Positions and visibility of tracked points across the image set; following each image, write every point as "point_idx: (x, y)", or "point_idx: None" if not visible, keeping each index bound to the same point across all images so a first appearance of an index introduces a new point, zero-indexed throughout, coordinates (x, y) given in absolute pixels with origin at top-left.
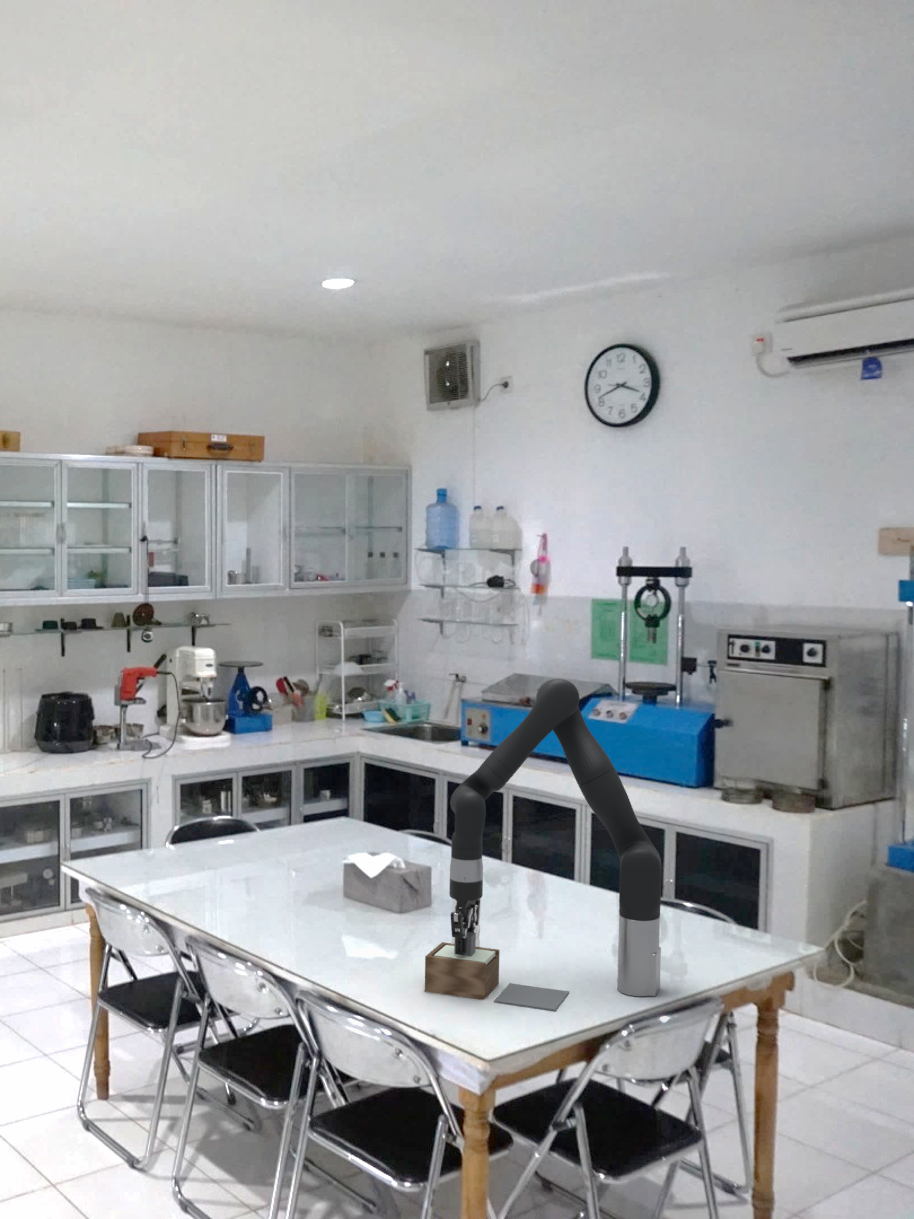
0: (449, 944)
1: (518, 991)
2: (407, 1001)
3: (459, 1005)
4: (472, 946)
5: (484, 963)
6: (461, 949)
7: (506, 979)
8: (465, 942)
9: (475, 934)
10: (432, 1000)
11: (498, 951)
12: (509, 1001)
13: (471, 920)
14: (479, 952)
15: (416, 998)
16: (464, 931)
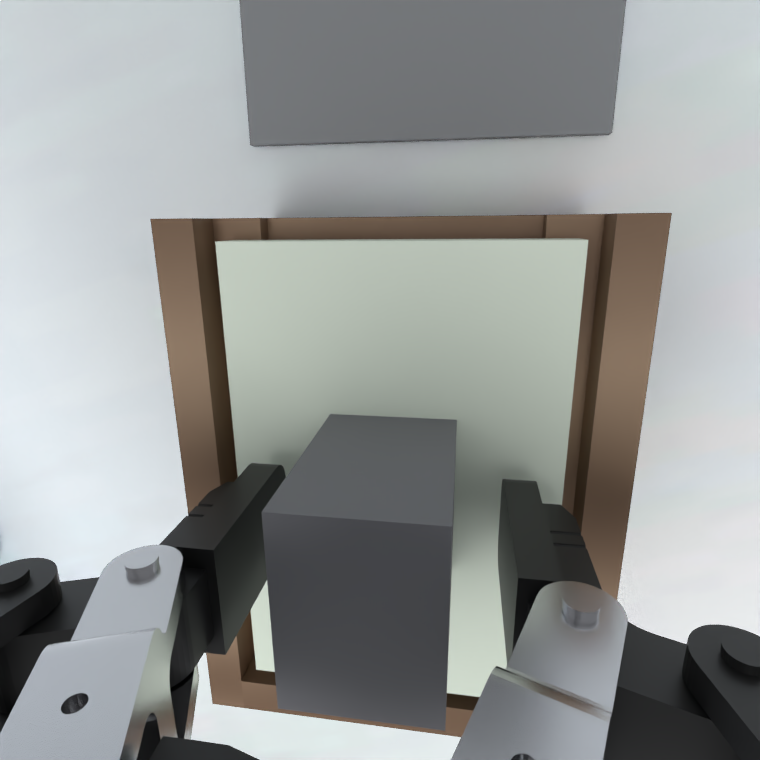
0: (236, 649)
1: (373, 24)
2: (730, 613)
3: (723, 333)
4: (409, 453)
5: (637, 223)
6: (576, 535)
7: (177, 200)
8: (533, 546)
9: (274, 502)
10: (677, 500)
11: (183, 219)
12: (594, 12)
13: (159, 711)
14: (314, 377)
15: (669, 583)
16: (615, 685)
